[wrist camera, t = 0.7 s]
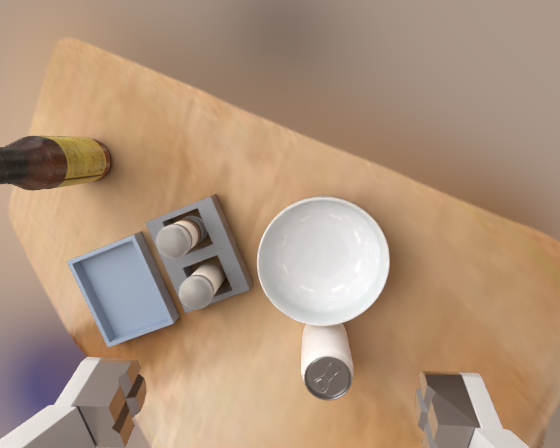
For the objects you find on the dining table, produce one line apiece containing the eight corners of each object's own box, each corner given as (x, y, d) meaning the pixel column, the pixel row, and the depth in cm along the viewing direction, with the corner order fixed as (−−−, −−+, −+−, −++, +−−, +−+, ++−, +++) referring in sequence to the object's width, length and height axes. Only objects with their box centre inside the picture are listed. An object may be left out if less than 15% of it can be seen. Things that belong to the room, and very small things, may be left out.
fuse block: (252, 283, 59) (242, 305, 50) (191, 305, 60) (170, 331, 51) (215, 194, 57) (198, 201, 48) (153, 219, 58) (125, 230, 50)
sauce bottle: (89, 128, 57) (-28, 113, 37) (121, 159, 57) (23, 160, 38) (61, 162, 58) (-66, 165, 39) (93, 192, 58) (-16, 210, 39)
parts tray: (179, 316, 61) (173, 323, 58) (115, 339, 62) (107, 347, 60) (141, 231, 59) (133, 234, 56) (76, 257, 60) (66, 261, 58)
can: (294, 338, 60) (289, 383, 48) (319, 305, 59) (321, 342, 47) (329, 363, 60) (334, 413, 48) (355, 330, 59) (366, 373, 47)
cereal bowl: (313, 167, 56) (313, 168, 49) (406, 241, 56) (419, 253, 49) (239, 259, 59) (229, 273, 52) (328, 329, 59) (330, 352, 52)
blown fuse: (212, 237, 58) (194, 251, 49) (186, 247, 59) (164, 263, 50) (201, 210, 58) (181, 220, 49) (175, 220, 58) (150, 232, 49)
